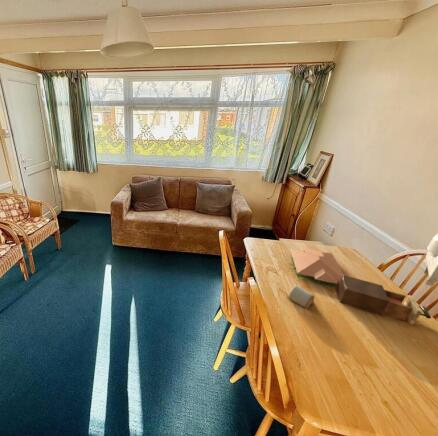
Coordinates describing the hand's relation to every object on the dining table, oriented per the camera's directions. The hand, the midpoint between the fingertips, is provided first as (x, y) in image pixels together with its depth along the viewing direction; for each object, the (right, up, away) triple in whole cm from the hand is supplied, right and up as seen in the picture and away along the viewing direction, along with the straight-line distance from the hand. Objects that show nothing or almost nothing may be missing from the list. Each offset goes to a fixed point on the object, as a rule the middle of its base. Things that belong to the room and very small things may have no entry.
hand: (427, 278), depth 92 cm
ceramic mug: (-40, -16, +18) cm, 46 cm away
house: (-16, -5, +41) cm, 44 cm away
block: (-4, -17, +11) cm, 20 cm away
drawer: (-2, -18, +10) cm, 21 cm away
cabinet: (-13, -16, +17) cm, 27 cm away
